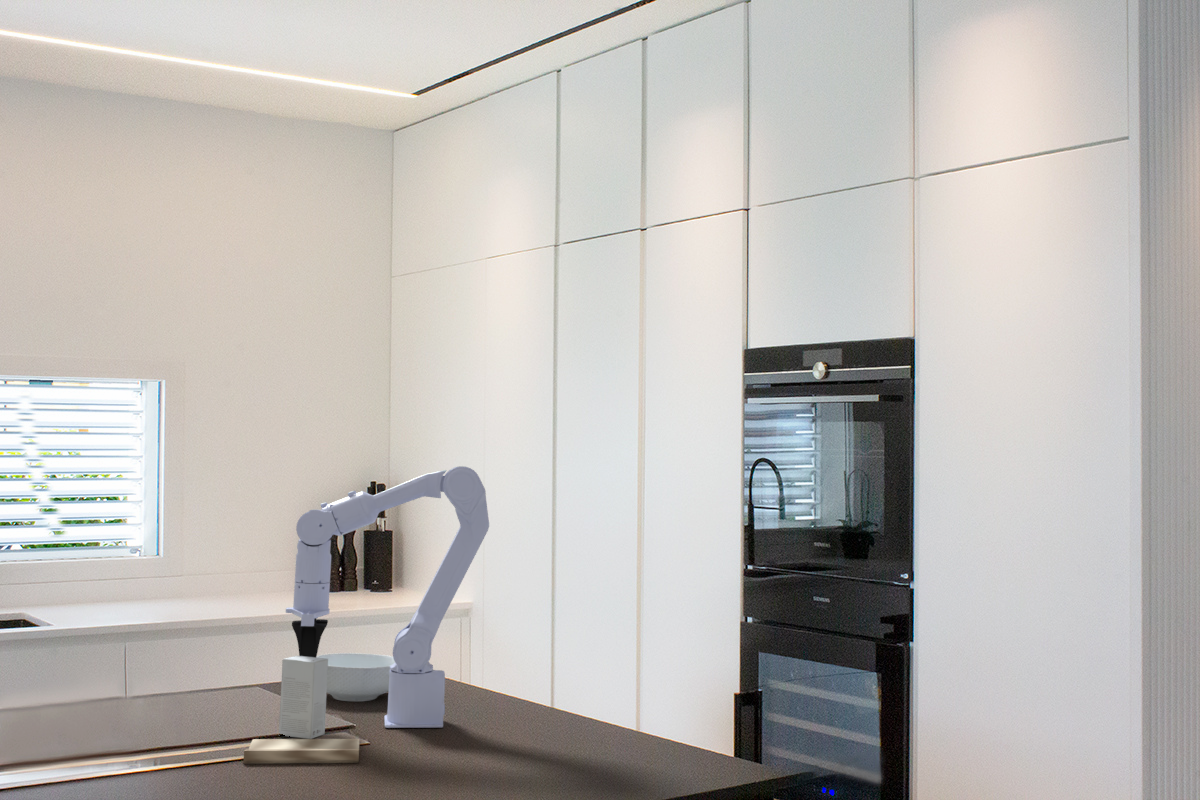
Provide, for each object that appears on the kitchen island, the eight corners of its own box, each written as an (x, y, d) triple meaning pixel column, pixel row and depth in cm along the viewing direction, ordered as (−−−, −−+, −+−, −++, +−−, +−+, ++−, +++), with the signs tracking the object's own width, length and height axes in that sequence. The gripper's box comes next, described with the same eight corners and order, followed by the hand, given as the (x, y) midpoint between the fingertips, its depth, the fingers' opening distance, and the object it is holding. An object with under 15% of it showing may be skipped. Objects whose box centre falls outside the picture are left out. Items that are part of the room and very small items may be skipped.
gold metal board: (359, 741, 180) (359, 729, 180) (358, 762, 167) (359, 750, 167) (252, 741, 176) (253, 729, 177) (243, 763, 164) (244, 750, 164)
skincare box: (325, 734, 183) (329, 658, 184) (310, 740, 179) (314, 662, 180) (292, 730, 185) (296, 654, 186) (277, 735, 181) (281, 658, 182)
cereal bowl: (391, 709, 205) (393, 668, 205) (298, 704, 205) (300, 664, 205) (408, 690, 221) (410, 653, 222) (322, 687, 222) (324, 649, 222)
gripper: (291, 577, 199) (286, 656, 198) (283, 586, 184) (278, 672, 184) (333, 578, 200) (328, 657, 199) (329, 587, 186) (324, 672, 185)
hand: (307, 664), depth 191 cm, fingers closed
